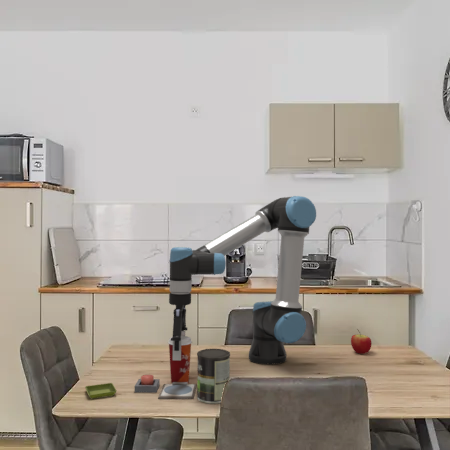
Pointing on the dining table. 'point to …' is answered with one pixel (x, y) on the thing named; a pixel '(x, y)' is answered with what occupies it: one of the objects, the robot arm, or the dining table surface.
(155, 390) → the button housing
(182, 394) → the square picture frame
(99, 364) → the dining table surface
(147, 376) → the button
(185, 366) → the coffee cup
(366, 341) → the apple
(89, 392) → the green rectangular tray
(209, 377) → the coffee can
